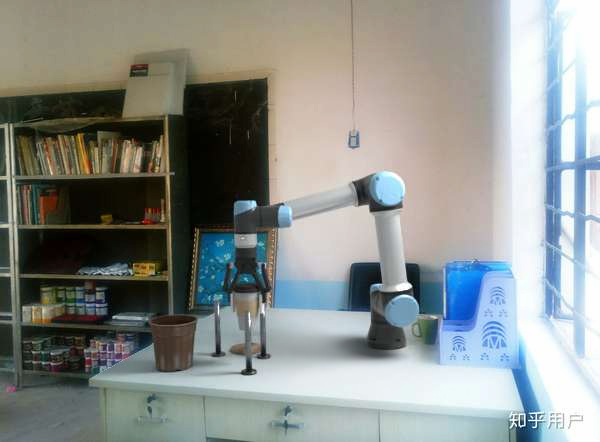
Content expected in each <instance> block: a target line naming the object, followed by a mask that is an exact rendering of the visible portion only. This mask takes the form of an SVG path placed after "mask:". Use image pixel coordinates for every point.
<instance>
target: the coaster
mask: <svg viewBox="0 0 600 442" xmlns="http://www.w3.org/2000/svg"><path fill="white" fill-rule="evenodd" d="M251 345H252V355H255V354H256V355H257V354H260V353H261V343H256V342H251ZM230 352H231V353H232V354H235V355H243V356H246V353H245V342H244V343H243V342H242V343H238V344H234V345H232V346H231V347H230Z"/></svg>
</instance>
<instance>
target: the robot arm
mask: <svg viewBox="0 0 600 442" xmlns="http://www.w3.org/2000/svg"><path fill="white" fill-rule="evenodd" d="M405 194H406V186H405V183H404V181H403V179H402V178H401V177H400V176H399V175H398V174H396V173H394V172H391V171H380V172H374V173H372V174H371V173H370V174H369V175H366V176H364V177H362V178H359V179H355V180H353V181H349V182H348V184H347V185H344V186H340V187H337V188H333V189H329V190H325V191H320V192H317V193H314V194H309V195H306V196H301V197H298V198H294V199H289V200H286V201H282V202H277V203H275V204H269V205H266V206H265V205H264V206H259V205H257V201H256V200H237V201H235V202H234V203H233V226H234V227H233V228H234V229H233V230H234V246H235V248H234V262H231V261H229V262H226V264H225V268H226V271H225V276H224V279H223V285H222V289H221V291H222V292H226V293H227V302H228V303H230V314H231V313H232V314H233V313H236V312H237V311H236V303H235V292H233V289H234V288H235V285H236V284H238V282H239V280H240V278H241V276H242V275H251V277H252V278H253V280H254V283H256V284H257V286H258V288H259V289H260V293H259V315H260V314H262V313H263V312H264V303H265V304H266V303H267V294H268V293H270V292H272V290H273V289H272V284H271V281H270V277H269V274H268V273H269V272H268V269H267V265H268V264H267V262H266V261H265V262H259V260H258V247H257V245H258V236H257V234H258V233H257V231H258V229H287V228H291V226H292V223H293V222H294V221H296V220H297V221H298V220H301V219H304V218H309V217H313V216H317V215H320V214H324V213H329V212H331V211H336V210H340V209H344V208H347V207H352V206H353V207H355V208H359V207H362V206H363V207H364V206H368V210H369V214H371V215H372V216H373V217H374V223H375V224H374V225H375V230H376V231H375V232H376V239H377V240H376V241H377V246H378V247H377V249H378V257H379V264H380V265H379V266H380V272H381V282H382V283H375V284H371V286H370V290H369V295H370V298H369V300H370V305H369V306H370V324H369V328H368V331H367V335H366V338H365V339H366V342H365V343H366V345H367V346H368V347H371V348H375V349H379V350H380V349H381V350H396V349H401V348H404V347H406V346H407V343H408V341H407V339H408V338H407V336H406V333H405V330H404V328H407V327H409V326H411V325H412V324H413V323H415V321H416V320H417V319H418V317H419V313H420V307H419V303H418V302H417V300H416V299H415V298H414V291H413V285H412V284H411V283H410V282H408V278H407V269H406V260H405V252H404V244H403V235H402V228H401V218H400V213H402V211H403V210H404V205H403V199H404V197H405ZM234 267H235V269H236V272H235V274H234V276H233V279H232V281H231V283H230V280H231V277H232V272H233V269H234ZM258 267H259V269H260V272H261V277H262V279H261V277H260V276H259V273H258V271H257V268H258ZM262 280H263V281H262ZM263 282H264V283H263Z"/></svg>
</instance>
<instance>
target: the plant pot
mask: <svg viewBox="0 0 600 442" xmlns="http://www.w3.org/2000/svg"><path fill="white" fill-rule="evenodd" d="M198 321H199V317H197V316H195V315H191V314H166V315H160V316H155V317H152V318H151V319H149V320H148V324H149V326H150V333H151V335H152V343H153V344H152V345H153V353H154V362H155V363H154V364H155V368H156V369H157V370H158V371H160V372H164V373H165V372H166V373H167V372H169V373H172V372H176V371H177V370H178V371H185V370H187V369H190V368H191V367H193V364H194V362H193V360H194V349H195V335H196V331H197V322H198Z"/></svg>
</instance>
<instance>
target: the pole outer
mask: <svg viewBox="0 0 600 442" xmlns="http://www.w3.org/2000/svg"><path fill="white" fill-rule="evenodd" d="M244 315H245V331H244V341H245V342H244V343H245V353H246V355H245V368H244V369H241V372H240V373H241V375H243V376H255V375H256V374H258V370H257V368H253V357H252V355H253V354H252V345H251V343H252V330H251V311H245V312H244Z"/></svg>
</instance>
